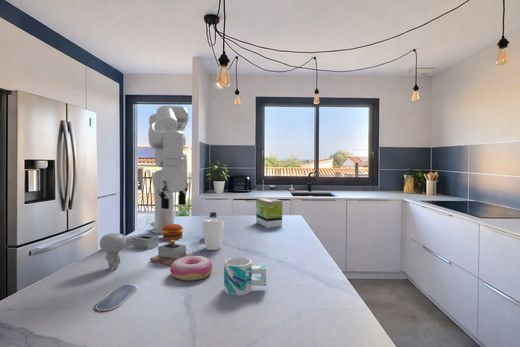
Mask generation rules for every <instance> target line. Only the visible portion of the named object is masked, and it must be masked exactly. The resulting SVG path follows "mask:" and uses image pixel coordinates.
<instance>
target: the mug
mask: <svg viewBox="0 0 520 347" xmlns="http://www.w3.org/2000/svg"><path fill="white" fill-rule="evenodd" d="M252 263H253V262H252V259H250V258H248V257H244V256H243V257H241V256H237V257H236V256H235V257H229V258H226V259H224V263H223V292H224V293H226V294H228V295H231V296H244V295H245V296H246V295H248V294H249V293H251V292H252V288H253V287H256V286H257V287H266V286H267V266H266V265H253V264H252ZM252 274H254V275H261V276H253V275H252Z"/></svg>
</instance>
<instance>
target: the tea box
mask: <svg viewBox="0 0 520 347" xmlns="http://www.w3.org/2000/svg"><path fill="white" fill-rule="evenodd" d="M255 217H256V218H255V222H256V224H259V225H261V226H263V227H265V228H268V229H269V228H277V227H283V200H281V199H278V198H274V197H257V198H255Z"/></svg>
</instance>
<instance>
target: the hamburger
mask: <svg viewBox="0 0 520 347" xmlns="http://www.w3.org/2000/svg"><path fill="white" fill-rule="evenodd" d="M183 229H184V228H183V226H182V225H181V224H178V223H174V224H169V225H166V226H164V227H163V234H162V235H163V236H162V239H163V240H164V239H165V241H170V240H175V241H178V240H180V239H182V238H183V232H184V231H183Z"/></svg>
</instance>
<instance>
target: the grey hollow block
mask: <svg viewBox="0 0 520 347" xmlns="http://www.w3.org/2000/svg"><path fill="white" fill-rule="evenodd" d="M156 247H159V236H156V235H155V236H154V235H147V234H144V235H140V236H136V237H135V236H134V237H133V248H135V249H141V250H147V251H149V250H150V249H154V248H156Z"/></svg>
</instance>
